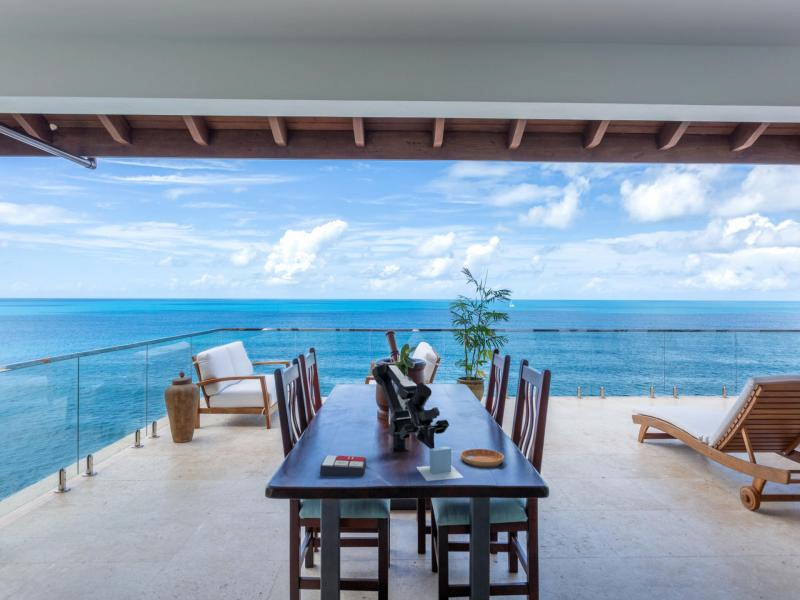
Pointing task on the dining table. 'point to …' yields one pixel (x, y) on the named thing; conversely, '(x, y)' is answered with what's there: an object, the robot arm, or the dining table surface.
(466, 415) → the dining table surface
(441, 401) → the dining table surface
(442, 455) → the box
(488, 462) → the saucer
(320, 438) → the dining table surface
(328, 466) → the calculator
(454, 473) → the mat
